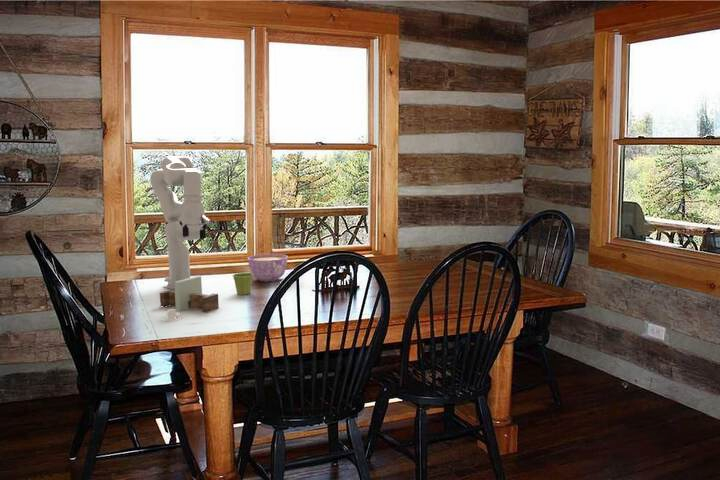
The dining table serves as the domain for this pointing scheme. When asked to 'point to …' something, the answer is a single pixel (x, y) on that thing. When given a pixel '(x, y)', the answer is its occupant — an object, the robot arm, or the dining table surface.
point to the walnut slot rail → (197, 300)
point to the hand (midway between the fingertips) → (194, 237)
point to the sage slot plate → (186, 291)
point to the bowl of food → (268, 266)
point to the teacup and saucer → (172, 313)
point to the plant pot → (243, 283)
